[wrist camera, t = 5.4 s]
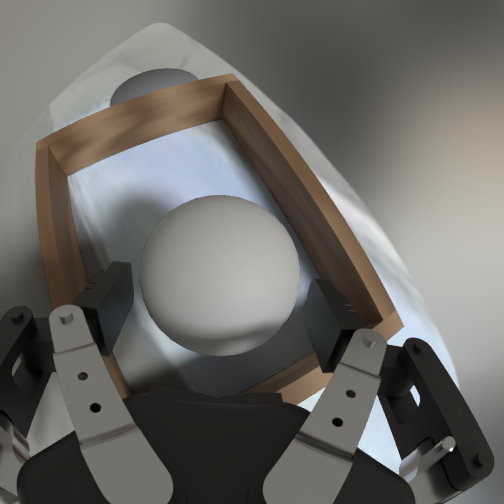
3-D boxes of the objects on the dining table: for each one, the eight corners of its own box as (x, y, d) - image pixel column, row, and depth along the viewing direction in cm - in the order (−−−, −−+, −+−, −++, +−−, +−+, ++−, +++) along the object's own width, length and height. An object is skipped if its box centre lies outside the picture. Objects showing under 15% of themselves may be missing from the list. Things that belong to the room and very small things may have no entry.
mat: (119, 136, 22) (118, 133, 21) (107, 87, 24) (106, 84, 24) (215, 105, 25) (215, 102, 24) (185, 64, 27) (185, 61, 27)
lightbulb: (240, 367, 17) (286, 391, 6) (155, 329, 17) (82, 295, 6) (274, 285, 19) (345, 206, 9) (193, 250, 19) (181, 138, 9)
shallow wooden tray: (145, 449, 13) (128, 474, 9) (55, 172, 19) (36, 142, 15) (367, 333, 19) (404, 326, 14) (228, 108, 25) (233, 73, 20)
